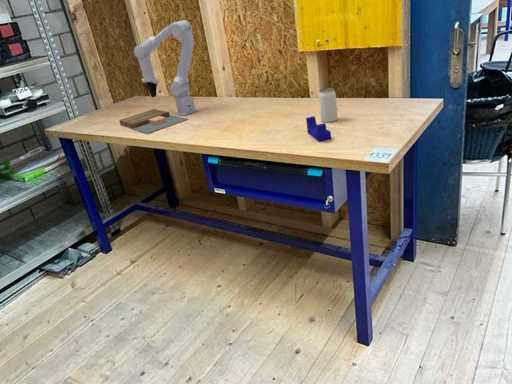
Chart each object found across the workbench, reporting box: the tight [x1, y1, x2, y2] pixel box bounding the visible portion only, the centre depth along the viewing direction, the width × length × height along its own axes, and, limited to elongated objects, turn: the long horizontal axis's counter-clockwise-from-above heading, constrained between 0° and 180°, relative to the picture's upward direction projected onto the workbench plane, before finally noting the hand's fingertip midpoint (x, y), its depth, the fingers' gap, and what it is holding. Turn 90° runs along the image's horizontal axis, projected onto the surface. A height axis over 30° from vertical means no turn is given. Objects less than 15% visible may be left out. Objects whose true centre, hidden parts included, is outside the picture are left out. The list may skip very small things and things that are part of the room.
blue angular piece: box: [305, 115, 332, 143], centre depth 151 cm, size 12×4×6 cm, turn 13°
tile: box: [148, 116, 167, 125], centre depth 205 cm, size 7×6×2 cm
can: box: [318, 87, 338, 124], centre depth 164 cm, size 6×6×12 cm
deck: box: [119, 108, 171, 130], centre depth 214 cm, size 16×20×2 cm
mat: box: [132, 115, 189, 135], centre depth 203 cm, size 16×22×1 cm
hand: (154, 96), depth 218 cm, fingers closed
